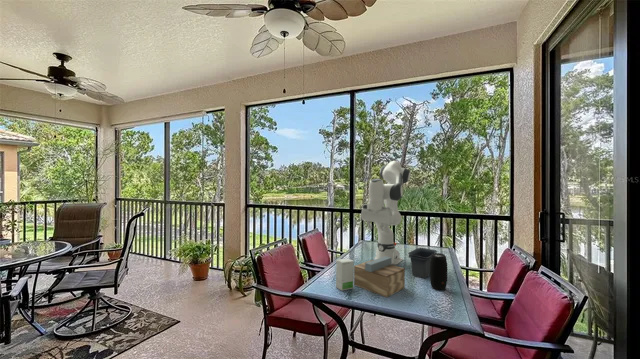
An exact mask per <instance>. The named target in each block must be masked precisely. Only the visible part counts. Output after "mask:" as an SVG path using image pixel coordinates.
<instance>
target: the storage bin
mask: <svg viewBox="0 0 640 359" xmlns="http://www.w3.org/2000/svg"><path fill="white" fill-rule="evenodd" d="M437 253H439V251H438V250H436V249H432V248H431V249H430V248H427V247H425V248H424V247H417V248H415V249H413V250H411V251H410V252H408V258H410V267H411V275H412V276H413V277H417V278H422V279H426V278H427V277H430V261H431V255H432V254H437Z"/></svg>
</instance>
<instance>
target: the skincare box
mask: <svg viewBox="0 0 640 359" xmlns="http://www.w3.org/2000/svg"><path fill="white" fill-rule="evenodd" d="M335 262H336V264H335V265H336V267H335V269H336V271H335V272H336V273H335V287H336V289H338V290H340V291H347V290H352V289H353V290H354V266H355V265H354V264H355V263H354V262H355V261H354V260H352V259H350V258H341V259H336V261H335Z"/></svg>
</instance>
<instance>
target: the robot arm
mask: <svg viewBox="0 0 640 359" xmlns="http://www.w3.org/2000/svg"><path fill="white" fill-rule="evenodd" d="M411 175H412V174H411V170H410V169H408V168H404V167H402V164H401V163H400V162H399V161H397V160H392V161H389V162H388V163H387V164H386V165H385V164H384V165H383V166H381V167H380V170H379V177H380V178H372V179H370V180H369V182H368V183H369V184H368V197H369V198H368V203H365V204H362V205H361V209H362V210H361V214H360V215H361V218H360V219H361V220H362V221H365V222H366V225H367V228H368V229H369V230H373V225H371V223H372V222H373V223H374V224H375V226H376V229H377V244H376V245H377V246H376V247H377V248H376V250H375V252H376V253H375V257H374V260H376V259H379V258H382V257H385V256H387V257H391V265H394V266H397V265H399V264H400V263H401V262H402V261H404V258H402V257H401V254H400V251H399V250H398V249H396V247H395V246H397V243H396V242H394V232H393V230H392V229H391V228H390V226H399V225H400V223H401V222H402V215H401V213H400V211H399V209H398V203H399V202H398V201H400V200H401V199H402V198H403V194H404V191H403V190H404V189H403V186H404V185H405V184H406V183H408V182H409V180H410V179H411ZM384 181H385V182H387V183H384Z"/></svg>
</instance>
